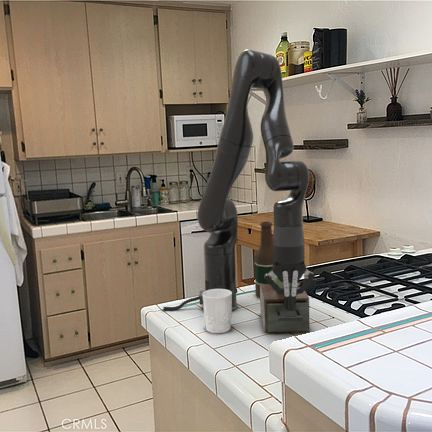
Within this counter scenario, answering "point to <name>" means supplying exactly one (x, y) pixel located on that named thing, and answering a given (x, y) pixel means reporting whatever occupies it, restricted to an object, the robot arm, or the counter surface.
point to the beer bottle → (264, 256)
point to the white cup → (217, 310)
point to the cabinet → (271, 296)
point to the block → (280, 283)
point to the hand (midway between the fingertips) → (289, 309)
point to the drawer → (287, 317)
